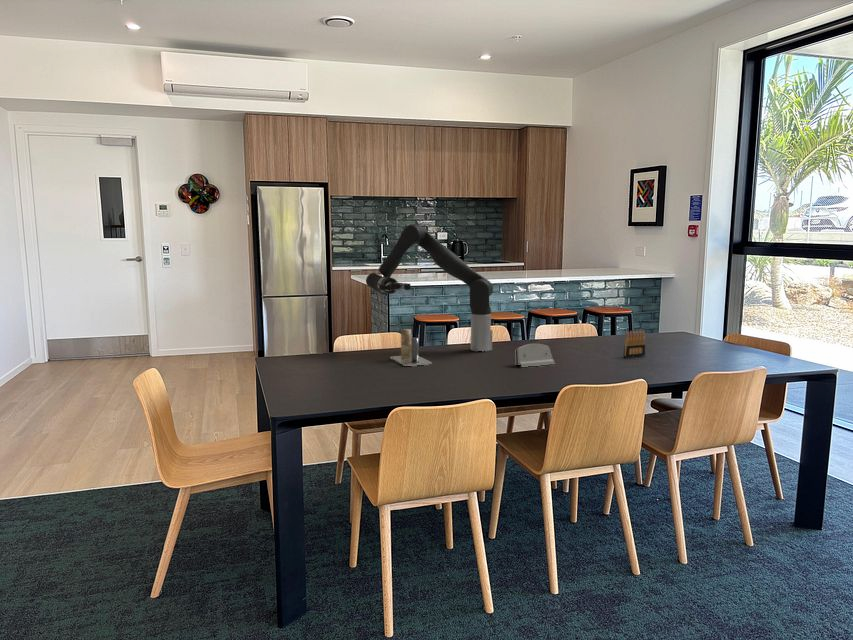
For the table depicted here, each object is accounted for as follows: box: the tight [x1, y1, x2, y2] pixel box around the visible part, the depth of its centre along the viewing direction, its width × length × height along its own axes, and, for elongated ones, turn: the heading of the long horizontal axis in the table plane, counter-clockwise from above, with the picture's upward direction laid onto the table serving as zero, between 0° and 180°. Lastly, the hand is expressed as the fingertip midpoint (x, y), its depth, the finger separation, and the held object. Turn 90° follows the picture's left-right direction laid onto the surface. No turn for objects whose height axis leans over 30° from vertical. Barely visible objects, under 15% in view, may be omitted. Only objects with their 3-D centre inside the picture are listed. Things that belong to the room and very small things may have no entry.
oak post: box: [400, 328, 412, 358], centre depth 270 cm, size 4×4×12 cm
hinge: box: [514, 343, 556, 368], centre depth 260 cm, size 17×5×10 cm, turn 112°
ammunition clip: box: [623, 328, 646, 358], centre depth 278 cm, size 11×2×12 cm, turn 113°
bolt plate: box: [390, 337, 433, 367], centre depth 265 cm, size 12×18×11 cm, turn 23°
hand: (399, 288), depth 279 cm, fingers open, 8 cm apart
